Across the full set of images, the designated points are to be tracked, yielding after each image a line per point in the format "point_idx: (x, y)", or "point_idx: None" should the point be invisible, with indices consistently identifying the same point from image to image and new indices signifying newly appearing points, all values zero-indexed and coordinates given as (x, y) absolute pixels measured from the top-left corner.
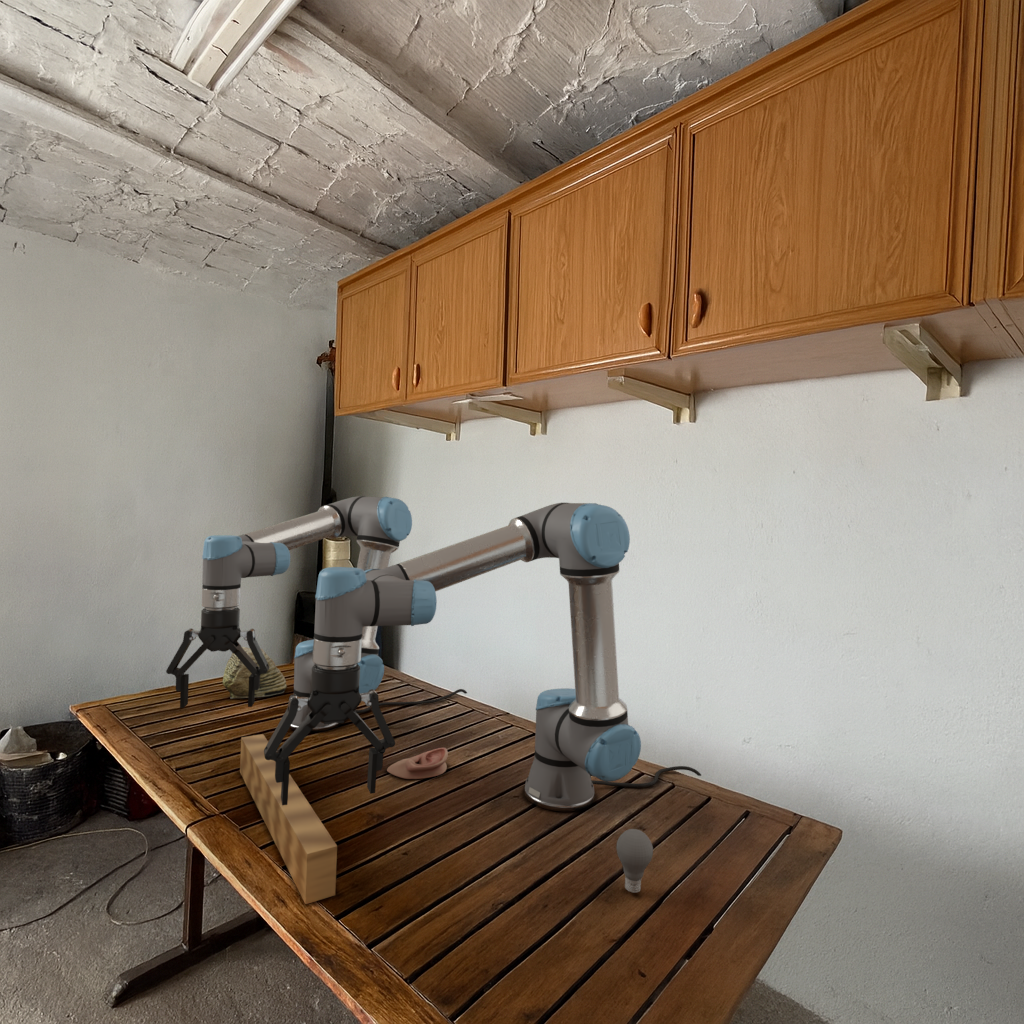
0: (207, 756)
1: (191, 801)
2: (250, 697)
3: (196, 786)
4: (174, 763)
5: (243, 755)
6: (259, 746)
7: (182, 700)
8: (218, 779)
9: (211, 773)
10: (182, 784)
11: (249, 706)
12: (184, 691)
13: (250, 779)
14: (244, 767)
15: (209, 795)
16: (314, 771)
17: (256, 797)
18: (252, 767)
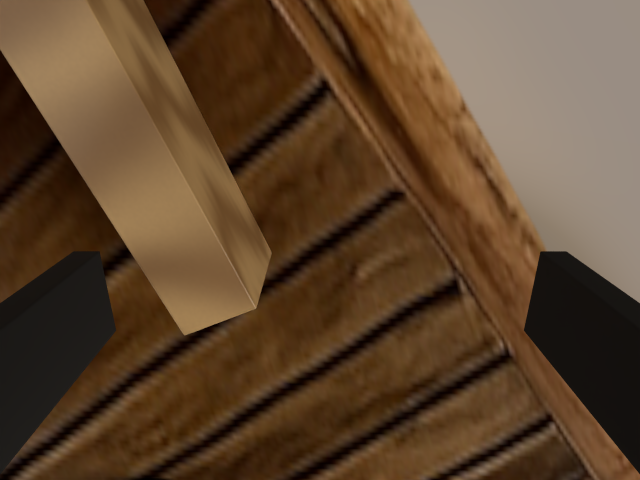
0: (391, 359)
1: (363, 61)
2: (38, 282)
3: (374, 169)
4: (471, 323)
5: (240, 241)
6: (152, 214)
7: (583, 276)
8: (322, 211)
9: (352, 253)
10: (418, 186)
11: (88, 253)
12: (619, 322)
13: (185, 110)
14: (235, 209)
15: (319, 101)
16: (52, 243)
17: (137, 5)
18: (151, 87)
